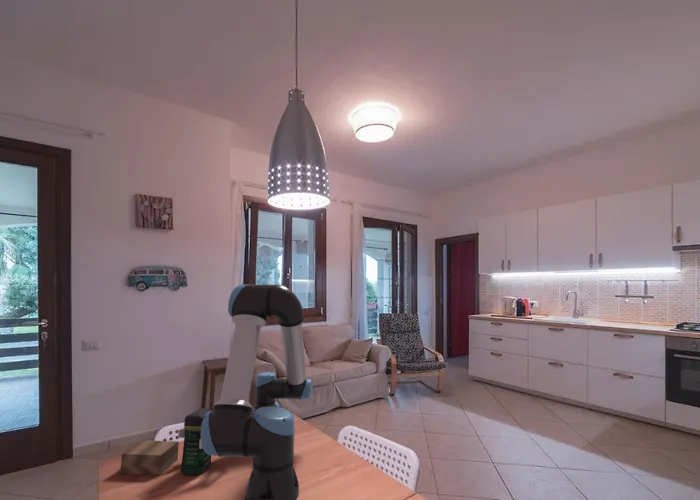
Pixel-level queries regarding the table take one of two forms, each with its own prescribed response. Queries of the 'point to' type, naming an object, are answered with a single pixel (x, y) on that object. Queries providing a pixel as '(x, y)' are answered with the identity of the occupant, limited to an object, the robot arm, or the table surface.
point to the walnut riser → (149, 457)
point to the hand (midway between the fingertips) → (188, 438)
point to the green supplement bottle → (194, 444)
